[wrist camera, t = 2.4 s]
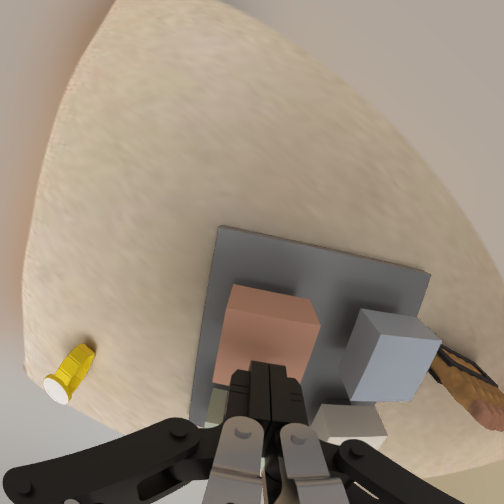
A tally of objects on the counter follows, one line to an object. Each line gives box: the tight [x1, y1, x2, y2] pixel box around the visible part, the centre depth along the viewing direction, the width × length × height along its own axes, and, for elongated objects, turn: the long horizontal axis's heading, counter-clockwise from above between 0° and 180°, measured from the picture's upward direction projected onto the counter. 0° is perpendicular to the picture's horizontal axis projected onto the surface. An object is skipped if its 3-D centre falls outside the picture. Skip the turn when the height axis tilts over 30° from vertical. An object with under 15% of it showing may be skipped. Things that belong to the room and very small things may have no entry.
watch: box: [43, 343, 95, 404], centre depth 20 cm, size 6×3×6 cm, turn 144°
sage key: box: [204, 388, 265, 470], centre depth 17 cm, size 5×5×4 cm
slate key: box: [338, 308, 442, 402], centre depth 15 cm, size 5×5×4 cm
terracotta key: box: [212, 284, 321, 386], centre depth 15 cm, size 5×5×4 cm
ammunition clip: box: [428, 344, 504, 432], centre depth 16 cm, size 11×2×12 cm, turn 62°
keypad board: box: [189, 225, 431, 427], centre depth 19 cm, size 16×18×4 cm
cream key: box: [310, 404, 388, 450], centre depth 17 cm, size 5×5×4 cm
